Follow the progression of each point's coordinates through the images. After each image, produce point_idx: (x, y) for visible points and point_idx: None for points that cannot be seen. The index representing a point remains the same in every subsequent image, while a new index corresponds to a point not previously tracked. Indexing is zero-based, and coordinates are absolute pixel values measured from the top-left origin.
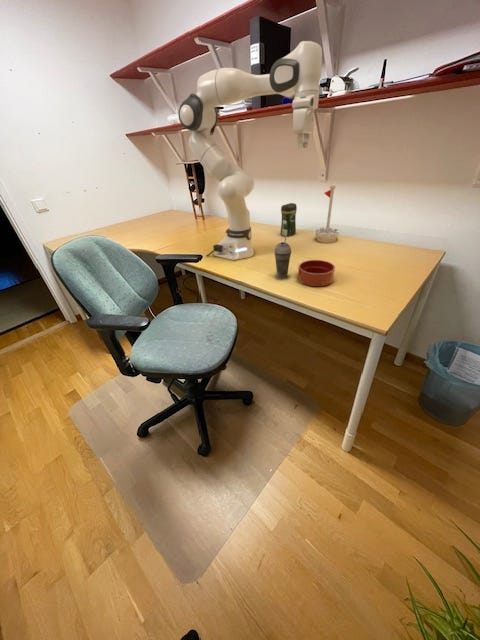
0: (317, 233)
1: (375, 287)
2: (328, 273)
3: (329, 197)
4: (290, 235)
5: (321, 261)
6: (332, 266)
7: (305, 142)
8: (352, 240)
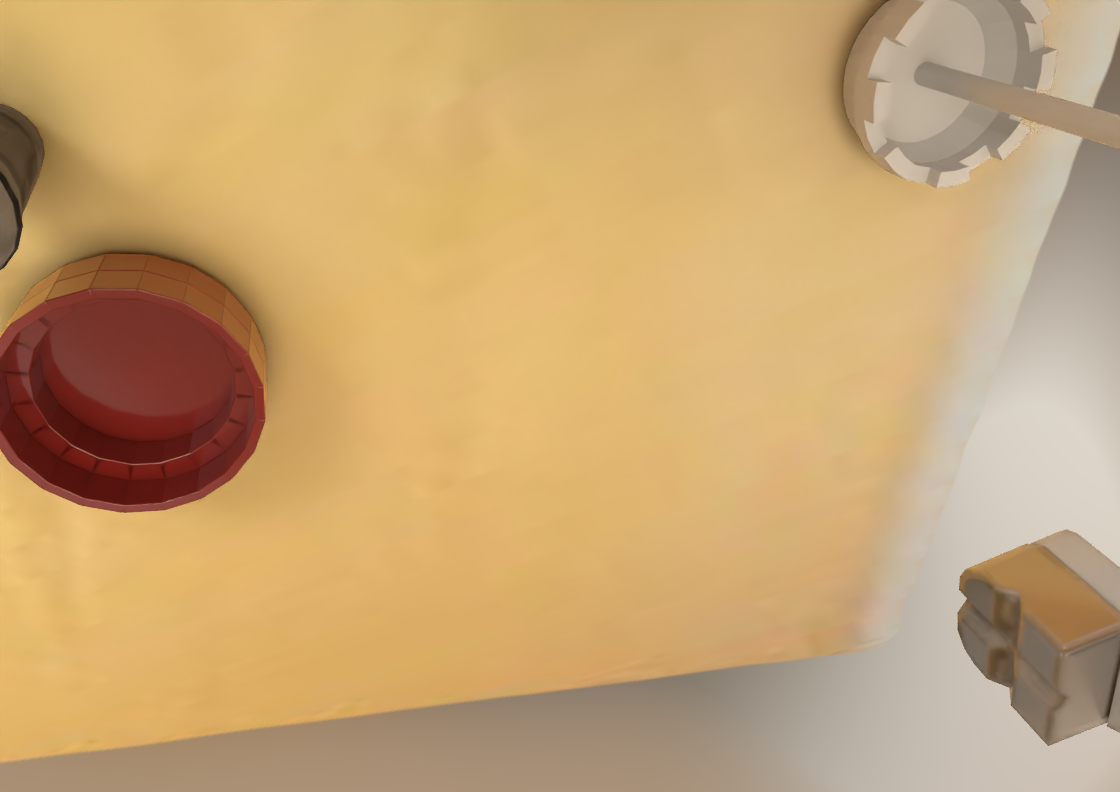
0: (897, 23)
1: (277, 618)
2: (92, 505)
3: None
4: None
5: (251, 382)
6: (227, 466)
7: (1057, 705)
8: (932, 256)
